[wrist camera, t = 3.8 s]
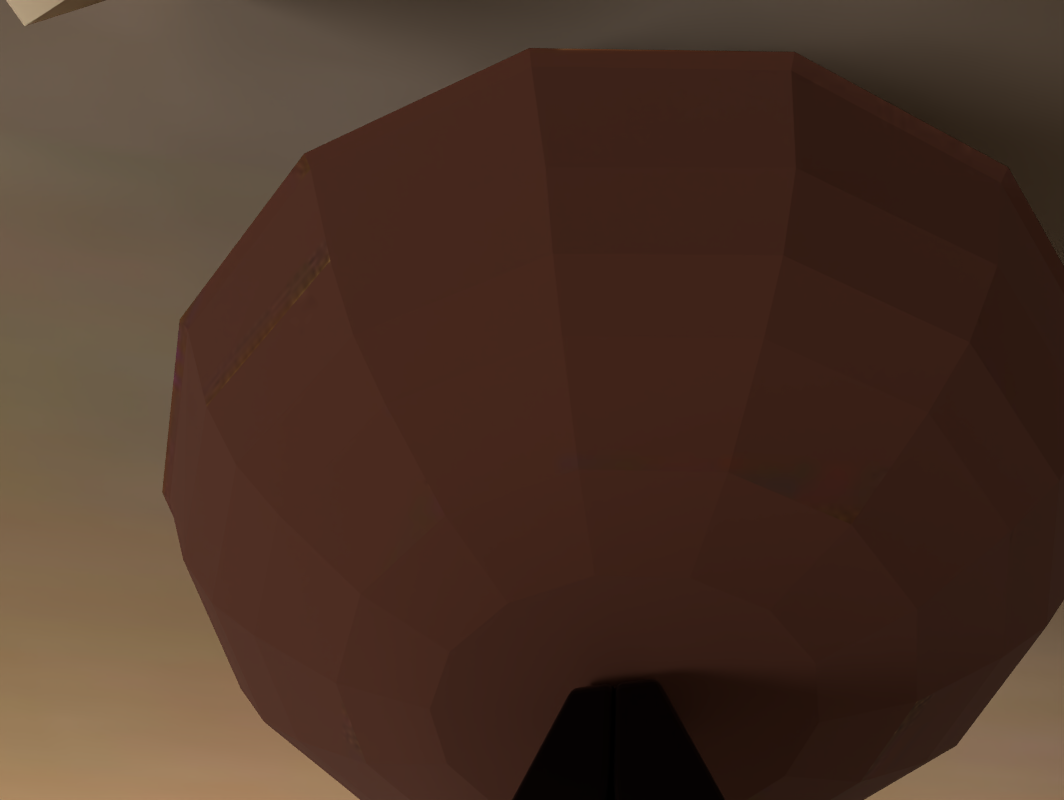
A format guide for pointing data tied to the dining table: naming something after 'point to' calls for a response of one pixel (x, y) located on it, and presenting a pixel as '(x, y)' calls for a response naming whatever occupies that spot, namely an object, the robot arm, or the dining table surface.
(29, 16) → the oak block
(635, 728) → the robot arm
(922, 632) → the muffin
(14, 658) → the dining table surface
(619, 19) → the dining table surface
